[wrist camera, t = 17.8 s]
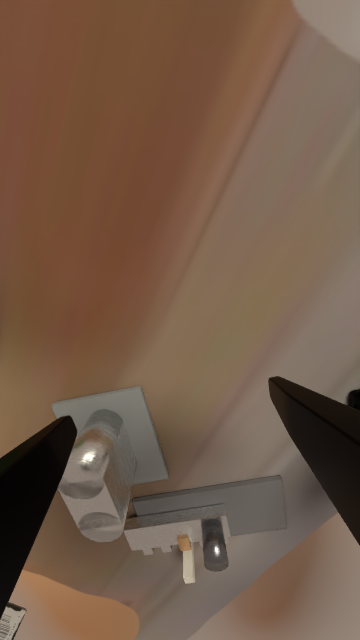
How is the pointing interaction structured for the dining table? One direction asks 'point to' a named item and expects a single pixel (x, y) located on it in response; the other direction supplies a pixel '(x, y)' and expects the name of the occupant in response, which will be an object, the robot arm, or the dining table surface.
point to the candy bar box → (11, 621)
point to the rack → (183, 533)
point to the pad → (135, 420)
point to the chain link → (100, 477)
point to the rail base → (240, 505)
